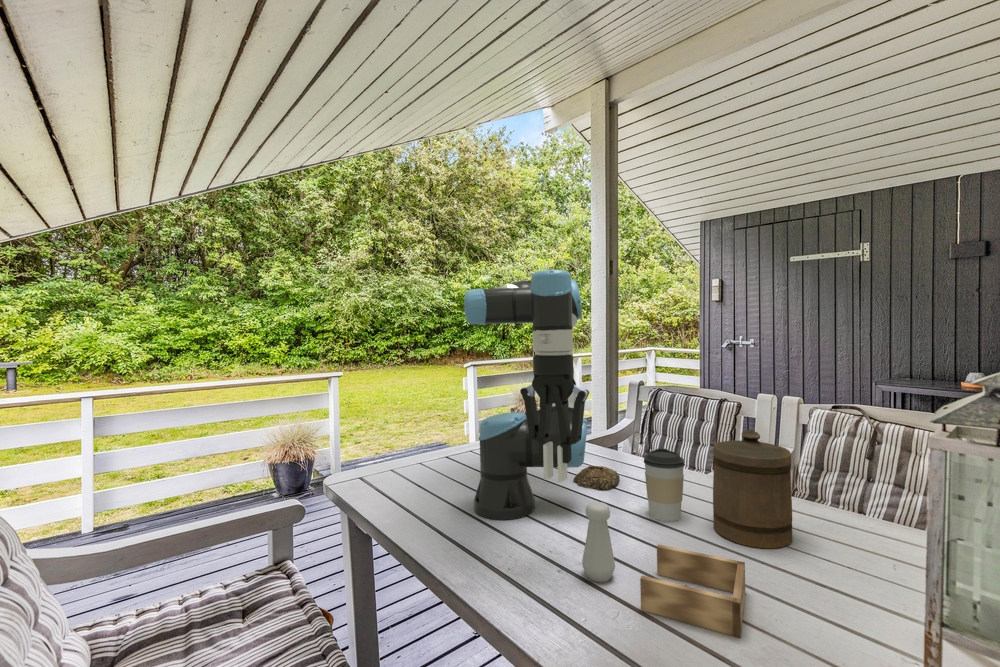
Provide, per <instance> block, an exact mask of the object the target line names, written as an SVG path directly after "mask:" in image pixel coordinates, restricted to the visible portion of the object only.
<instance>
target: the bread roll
mask: <svg viewBox="0 0 1000 667" xmlns="http://www.w3.org/2000/svg"><path fill="white" fill-rule="evenodd" d="M619 482H620V474H618V471H617V470H613V469H612V468H609V467H607V466H603V465H602V466H601V465H598V466H597V465H589V466H586V467H585V468H583V469H582V470H580V472H578V473H577V474H576V475H575V476H574V478H573V483H575V484H577V485H578V486H579V487H582V488H584V489H590V490H595V491H610V490H611V489H613V488H615V487H616V486H618V484H619Z"/></svg>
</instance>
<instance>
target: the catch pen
mask: <svg viewBox="0 0 1000 667" xmlns="http://www.w3.org/2000/svg"><path fill="white" fill-rule="evenodd" d="M656 572H657V573H656V574H657V575H659V576H663V577H667V578H671V579H675V580H679V581H683V582H688V583H693V584H695V585H700V586H704V587H709V588H712V589H717V590H720V591H721V590H722V591H725V592H730V593H733V594H732V596H728V595H724V594H720V593H715V592H711V591H707V590H703V589H699V588H695V587H692V586H688V585H683V584H679V583H675V582H671V581H665V580H662V579H659V578H655V577H649V576H646V575H641V576H640V579H639V580H640V582H639V585H640V611H644V612H647V613H651V614H654V615H659V616H662V617H664V618H669V619H673V620H675V621H678V622H679V621H680V622H683V623H686V624H689V625H690V624H691V625H693V626H698V627H701V628H705V629H708V630H712V631H715V632H718V633H722V634H726V635H729V636H733V637H737V638H741V637H742V631H743V630H742V628H743V620H744V619H743V618H744V610H745V609H744V607H745V601H746V600H745V599H746V562H744V561H739V560H737V559H736V560H734V559H731V558H726V557H720V556H717V555H712V554H711V555H710V554H705V553H702V552H696V551H692V550H687V549H681V548H677V547H671V546H667V545H662V544H657V545H656Z"/></svg>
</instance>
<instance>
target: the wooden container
mask: <svg viewBox="0 0 1000 667" xmlns="http://www.w3.org/2000/svg"><path fill="white" fill-rule="evenodd" d="M741 437H742V440H724V441H719V442H716V443H714V445H713V478H712V479H713V480H712V482H713V484H712V506H713V507H712V509H713V510H712V511H713V517H712V518H713V519H712V520H713V529H714V531H715V532H716V533H717V534H719V536H721V537H723V538H725V539H727V540H728V541H731V542H733V543H735V544H738V545H739V544H740V545H743V546H745V547H751V548H758V549H781V548H784V547H786V546H789V545H790V544H791V543H792V542H793V502H792V501H793V499H792V478H791V469H792V453H791V451H790V450H789V449H787V448H786V447H783V446H780V445H776V444H773V443H767V442H763V441H762V442H761V441H759V439H761V435H760V433H759V432H756V430H755V429H746V430H744V431H742V432H741Z"/></svg>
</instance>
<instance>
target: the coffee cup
mask: <svg viewBox="0 0 1000 667" xmlns="http://www.w3.org/2000/svg"><path fill="white" fill-rule="evenodd" d="M643 464H644V468H645V471H644V475H645V476H644V477H645V485H646V488H645V489H646V498H647V501H648V502H647V503H648V511H649V513H648V514H649V516H650V517H651V518H652V519H654V520H656V521H661V522H666V523H667V522H668V523H669V522H670V523H671V522H672V523H673V522H677V521H679V520H680V519H681V517H682V516H681V514H682V501H683V494H684V477H685V476H684V466H685V460H684V458H683V457H681V456H680V454H679V453H678V452H675V451H671V450H669V449H667V448H656V449H654V450H651V451H649V452H648V454H647V455H645V456H644V457H643Z"/></svg>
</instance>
